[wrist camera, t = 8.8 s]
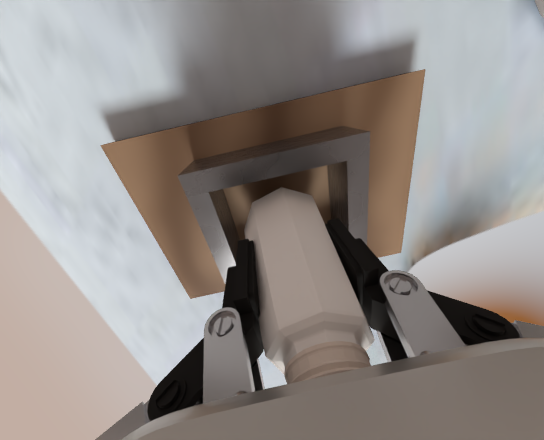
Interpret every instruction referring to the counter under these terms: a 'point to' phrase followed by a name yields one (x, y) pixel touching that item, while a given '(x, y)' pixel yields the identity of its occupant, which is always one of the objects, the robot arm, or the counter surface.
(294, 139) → the metal socket
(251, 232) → the salt shaker
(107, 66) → the counter surface
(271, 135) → the walnut board
